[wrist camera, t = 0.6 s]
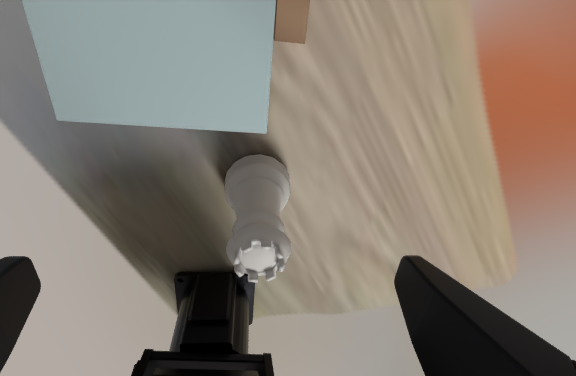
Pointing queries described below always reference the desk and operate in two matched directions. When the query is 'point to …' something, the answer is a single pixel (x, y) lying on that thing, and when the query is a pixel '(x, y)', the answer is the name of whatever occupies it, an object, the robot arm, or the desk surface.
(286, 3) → the flap frame
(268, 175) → the rook chess piece
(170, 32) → the pivoting flap
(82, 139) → the desk surface
